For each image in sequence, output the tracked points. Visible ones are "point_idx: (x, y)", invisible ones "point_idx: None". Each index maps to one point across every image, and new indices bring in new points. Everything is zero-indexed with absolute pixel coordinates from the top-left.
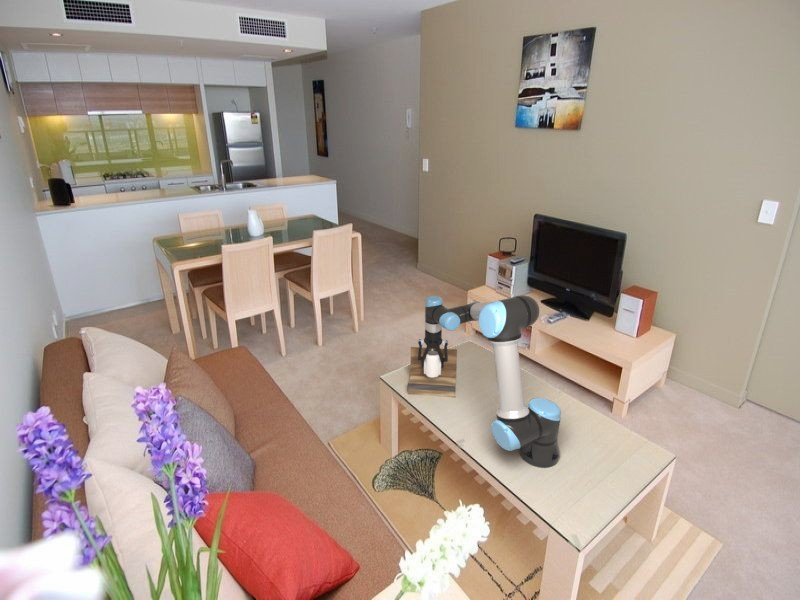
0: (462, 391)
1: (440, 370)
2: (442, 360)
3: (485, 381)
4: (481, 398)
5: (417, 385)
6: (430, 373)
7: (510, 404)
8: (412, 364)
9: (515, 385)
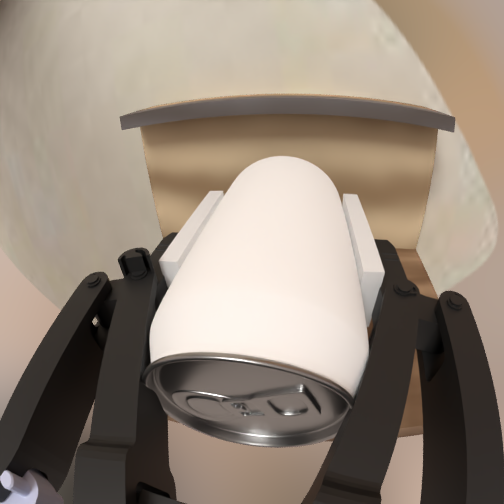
0: (133, 162)
1: (198, 210)
2: (129, 284)
3: (83, 245)
4: (63, 133)
5: (392, 104)
6: (296, 169)
7: None
8: None
9: None
